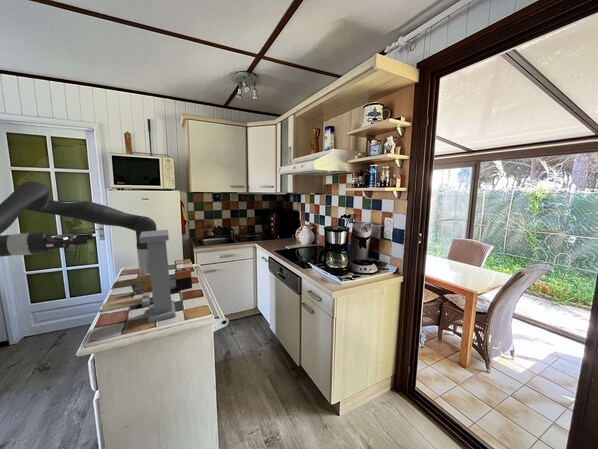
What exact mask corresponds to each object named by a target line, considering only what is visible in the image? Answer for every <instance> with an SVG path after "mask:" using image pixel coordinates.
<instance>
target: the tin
mask: <svg viewBox="0 0 598 449" xmlns="http://www.w3.org/2000/svg"><path fill="white" fill-rule="evenodd" d="M131 289H132V291H133V292H134V293H136V294H139V295H143V293H146V292H149V293H152V286H151V277H150V274H146V275H141V276H140V275H138V276H137V277H135V278H134V279H133V280H132V282H131Z"/></svg>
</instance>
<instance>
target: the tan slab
mask: <svg viewBox="0 0 598 449" xmlns="http://www.w3.org/2000/svg"><path fill="white" fill-rule="evenodd" d="M150 298H151V296H150V292H146V293H143V294H142V295H141V296H138V297H133V298H128V299H121V300H116V301H111V302H106V303H102V305H101V311H102V312H106V311H112V310H117V309H118V310H119V309H123V308H127V307H133V306H138V305H141V307H142V308H145V307H146V308H147V307H149V305H150Z"/></svg>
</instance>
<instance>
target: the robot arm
mask: <svg viewBox="0 0 598 449" xmlns="http://www.w3.org/2000/svg"><path fill="white" fill-rule="evenodd" d="M49 197H50V189H49V188H48V186H47V185H45V184H44V183H42V182H38V181H33V180H32V181H25V182H22V183H20V184H19V185H18V186H17V187H16V188H15V189H14V190H13V192H12V193H11V194H10V195H8V197H7V198H5V199H4V200H3V201H2V202H1V203H0V257H8V256H10V257H12V256H27V255H29V256H30V255H39V254H49V253H51V251H52V250H54V249H55V250H56V249H65V248H66V249H67V248H70V247H73V246H78V245H80V246H81V245H87V244H88V240H89V241H90V240H93V239H94V235H93V234H92V233H83V234H82V233H81V234H80V233H79V232H76V233H67V234H57V235H56V236H52V235H51V233H50V232H49V231H37V232H21V233H16V234H6V235H1V234H3V233H4V232H5V231H7V229H8V228H10V227H11V225H13V223H14V222H15V221H16V220H17V219H18V217H19V216H20V215H21V214H22V213H23V212H24V211H25V210H26V211H30V212H36V213H43V214H47V215H48V214H49V215H55V216H61V217H65V218H69V219H75V220H79V221H83V222H87V223H91V224H96V225H101V226H102V225H103V226H111V227H120V228H125V229H127V230H128V229H129V230H131V231H133V232H134V231H135V235H136V236H135V239H136V243H135V244H136V253H137V259H138V260H137V262H138V270H139V276H141V275H146V274H150V267H149V257H148V248H147V243H140V241H139V237H140V234H141V232H145V231H158V230H157V225H156V222H155V220H153V219H152V218H150V217H148V216H145V215H138V214H131V213H127V212H124V211H122V210H118V209H116V208H113V207H110V206H107V205H103V204H100V203H96V202H92V201H74V202H72V201H71V202H62V201H58V200H52V199H50V198H49ZM74 237H75V238H74Z"/></svg>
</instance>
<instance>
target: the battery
mask: <svg viewBox="0 0 598 449" xmlns="http://www.w3.org/2000/svg"><path fill="white" fill-rule="evenodd" d="M174 278H175V288H176V291H182V290H187V289H191V288H193V280H192V270H191V268H190V267H188V266H187V267H184V268H180V267H179V268H176V270H174Z"/></svg>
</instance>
